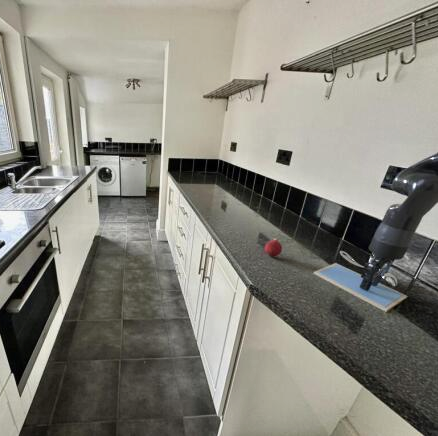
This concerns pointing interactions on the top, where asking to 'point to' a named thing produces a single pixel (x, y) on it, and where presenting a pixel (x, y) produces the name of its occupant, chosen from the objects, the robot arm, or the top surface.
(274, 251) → the onion
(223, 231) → the top surface
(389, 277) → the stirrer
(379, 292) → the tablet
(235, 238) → the top surface
